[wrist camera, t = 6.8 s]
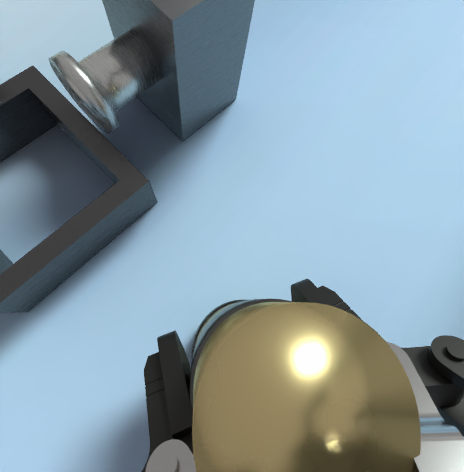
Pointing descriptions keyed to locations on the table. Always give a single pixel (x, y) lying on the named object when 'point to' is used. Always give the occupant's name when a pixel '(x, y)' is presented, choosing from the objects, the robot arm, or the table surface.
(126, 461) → the table surface
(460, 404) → the robot arm
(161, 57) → the shaft rig
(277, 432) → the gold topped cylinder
